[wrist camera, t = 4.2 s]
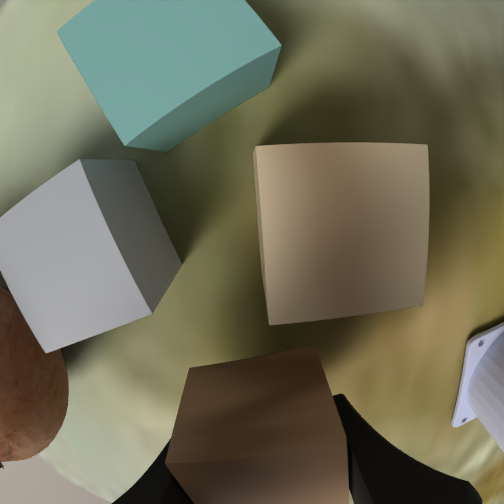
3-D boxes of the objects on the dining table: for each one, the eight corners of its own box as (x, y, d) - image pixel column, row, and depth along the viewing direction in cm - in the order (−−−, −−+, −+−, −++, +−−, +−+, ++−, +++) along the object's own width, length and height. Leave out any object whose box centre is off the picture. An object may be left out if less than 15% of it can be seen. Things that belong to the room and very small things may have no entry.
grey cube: (135, 160, 13) (79, 159, 8) (182, 264, 14) (152, 313, 9) (52, 209, 13) (-16, 231, 8) (96, 301, 14) (45, 353, 9)
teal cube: (206, 6, 11) (190, -57, 6) (269, 87, 12) (281, 45, 7) (112, 67, 11) (56, 31, 7) (167, 152, 13) (124, 145, 8)
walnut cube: (314, 344, 12) (346, 437, 7) (326, 427, 13) (349, 512, 8) (189, 367, 12) (164, 463, 7) (223, 445, 13) (217, 531, 8)
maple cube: (367, 150, 13) (427, 144, 8) (370, 261, 14) (422, 305, 9) (252, 154, 13) (255, 146, 8) (261, 271, 14) (268, 325, 9)
